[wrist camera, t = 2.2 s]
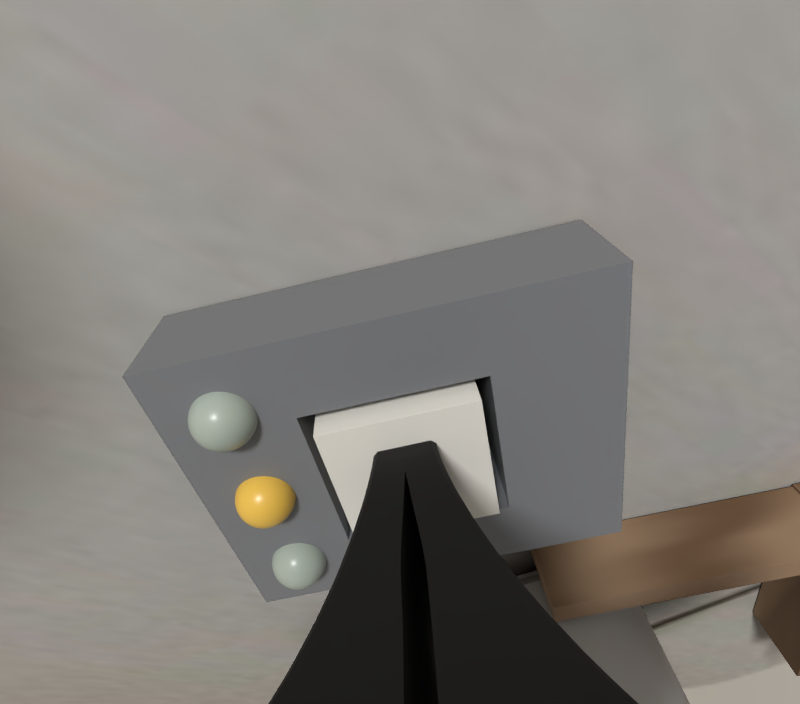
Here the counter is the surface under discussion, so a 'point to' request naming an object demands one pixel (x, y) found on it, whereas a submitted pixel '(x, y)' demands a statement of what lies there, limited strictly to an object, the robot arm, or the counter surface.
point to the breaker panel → (402, 392)
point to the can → (620, 648)
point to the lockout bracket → (688, 562)
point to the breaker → (410, 442)
